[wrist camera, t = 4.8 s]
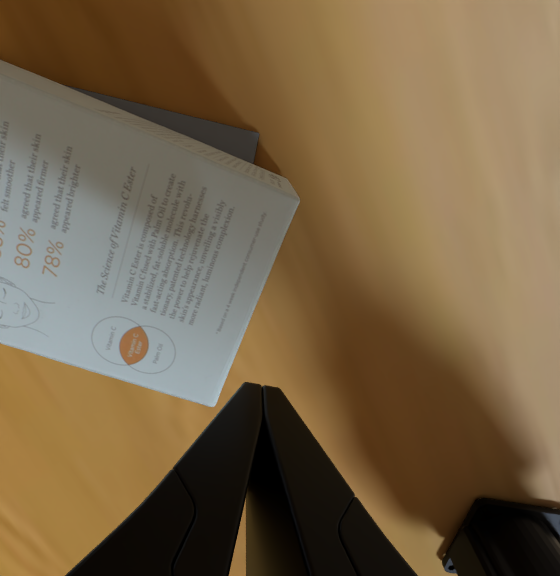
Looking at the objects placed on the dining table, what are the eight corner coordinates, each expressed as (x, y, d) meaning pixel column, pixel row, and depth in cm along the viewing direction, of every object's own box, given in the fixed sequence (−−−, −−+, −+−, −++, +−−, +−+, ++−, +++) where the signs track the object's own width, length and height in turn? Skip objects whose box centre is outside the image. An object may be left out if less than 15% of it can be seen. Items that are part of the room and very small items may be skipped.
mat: (259, 133, 16) (259, 132, 16) (213, 368, 20) (213, 371, 20) (-92, 46, 15) (-99, 45, 14) (-64, 318, 19) (-70, 321, 18)
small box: (292, 179, 16) (-19, 46, 14) (306, 198, 11) (-221, -23, 8) (230, 331, 19) (-41, 238, 17) (213, 415, 13) (-207, 288, 11)
